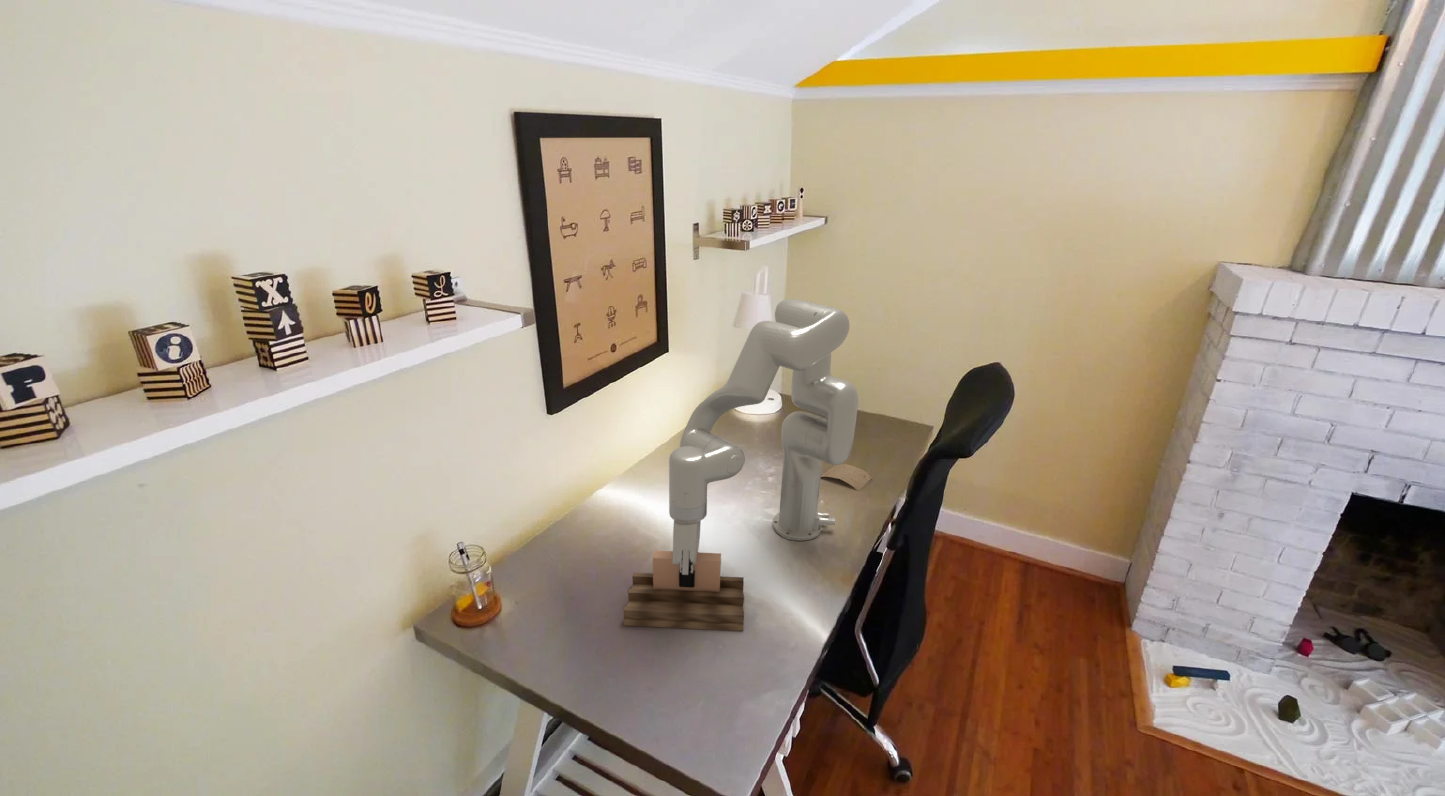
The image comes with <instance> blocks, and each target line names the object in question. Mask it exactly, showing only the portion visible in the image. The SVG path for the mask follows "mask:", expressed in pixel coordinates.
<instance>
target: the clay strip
mask: <svg viewBox="0 0 1445 796" xmlns="http://www.w3.org/2000/svg"><path fill="white" fill-rule="evenodd" d="M721 556H722V553H718V552H700V551H698V555H697V561H696V564H695V565H694V570H695V585H694V587H693V588H689V587H680V586H679V570H680V562H679V564H678V565H673V563H672V560H673V550H672V551H669V550H654V551H653V555H652V573H653V589H655V590H679V591H703V592H720V576H721V572H722V571H721V568H722V566H721V565H722V564H721V563H722V562H721V561H722V557H721ZM689 566H690V567H691V564H689Z"/></svg>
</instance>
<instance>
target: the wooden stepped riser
mask: <svg viewBox="0 0 1445 796" xmlns="http://www.w3.org/2000/svg"><path fill="white" fill-rule="evenodd" d="M631 576H632V585H631V588H628V592H627V594H628V595H627V596H628V597H627V598H628V601H627V604H626V605H624V608H623V626H627V627H629V626H630V627H647V628H648V627H650V628H651V627H652V628H654V627H655V628H670V629H671V628H673V629H694V630H695V629H697V630H719V631H740V632H743V631H744V626H745V625H744V620H745V610H744V604H745V603H744V602H745V600H744V599H745V593H744V582H745V581H744V580H745V579H744V577H743V576H741V577H739V576H721V575H720V592H703V591H679V590H655V589H653V572H652V573H651V572H649V573H647V572H633V573H632V575H631Z"/></svg>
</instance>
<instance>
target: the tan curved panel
mask: <svg viewBox="0 0 1445 796" xmlns="http://www.w3.org/2000/svg"><path fill="white" fill-rule="evenodd" d="M823 477H828V478H834V479H840V480H841V481H844V482H845V483H847V484H848V485H850V486H851V487H853V489H854V490H856V491H860V490H861V489H862V488H863V487H864V486H865V485H866V484H867V483H868V482H869V481H870V480H872V479H873V477H872V476H871V475H870V474H869V473H868V472H867V471H865V470H863V469H862V468H858V467H856V466H854V465H851V464H847V463H842V464H839V465H832V466H831V467H830V468H829V469H827V470H826V471H825V472H824V473H821V478H823Z"/></svg>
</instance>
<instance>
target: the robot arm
mask: <svg viewBox="0 0 1445 796" xmlns="http://www.w3.org/2000/svg"><path fill="white" fill-rule="evenodd" d="M850 324H851V323H850V318H849V317H848V315H847V314H846V312H845V311H843V310H841V309H840V308H837V307H835V306H834V307H833V306H829V305H824V304H818V303H815V302H812V301H808V300H807V301H806V300H803V299H796V298H787V299H783V300H781V301H780V302H778V304H777V305H776V307H775V311H774V321H773V320H762V321H759V322H757V323H756V324H754V326H753V327H752V328H751V330H750V332H749V334H748V336H747V338H746V341H745V342H744V345H743V346H742V349H741V352H740V353H739V355H738V358H737V360H736V362H735V364H734V365H733V366H734V367H733V369H732V370H731V373H730V375H729V377H728V379H727V381H726V383H725V384H724V385H722V386H721V387H720V388H718V389H717V390H715V391H714V392H712V393H711V394H710V395H708V396H707V397H705V399H703V400H702V401H701V402H700V403H699V404H698V405H697V406H696V407H695V409H694V410H693V411H692V413H691V415H690V418H689V419H688V421H687V423H686V426H685V427H684V430H683V432H682V435H681V438H680V442H679V447H678V448H675V449H673V451H671V453H670V454H669V458H668V459H669V460H668V489H669V490H668V493H669V494H668V500H669V503H668V506H669V507H668V509H669V510H668V511H669V512H668V513H669V517H670V519H672V520H673V530H672V532H673V533H672V551H673V560H672V563H673V565H678V564H679V562H680V570H679V586H680V587H689V588H693V587H694V585H695V570H694V565H695V564H696V561H697V555H698V552H699V547H700V538H701V522H702V521H703V520H704V519H705V518H706V517H707V513H708V511H707V509H708V485H709V484H710V483H714V482H717V481H723V480H727V479H731V478H732V477H734V476H736V475H738V474H739V473H740V472H741V470H742V469H743V468H744V465H745V462H746V457H745V453H744V451H743V449H742V448H741V447H740V446H738V445H737V444H736V443H734V442H732V441H729V440H727V439H724V438H723V437H720V436H719V435H716V434H714V433H712V430H713V428H714V425H715V424H716V423H717V421H718V420H719V419H720V418H721V417H722V416H723V415H724V414H725V413H728V412H730V411H731V410H734V409H737V408H740V407H741V408H742V407H745V406H753V405H758V404H761V403H762V402H764V401H765V400H766V397H767V395H768V392H769V391H770V389H771V386H772V384H773V382H774V379H775V377H776V375H777V373H778V371H779V368H780V367H782V368H786V369H789V370H792V377H791V379H792V380H791V390H790V391H791V392H790V394H791V395H790V397H791V401H792V403H793V404H794V406H796V407H797V408H799V409H801V410H803V411H793V412H791V413H790V414H788V415H787V416H786V417H785V419H784V420H783V422H782V425H781V437H780V438H781V443H782V454H783V456H782V459H783V460H782V475H781V488H780V500H779V512H778V513H776V514H775V515H774V517H773V518H772V529H773V530H774V532H775V533H777V534H778V535H780V536H781V537H782V538H785V539H788V540H792V541H799V542H801V541H810V540H813V539H814V538H815V539H816V538H817V537H818V536H819V535H820V534H821V532H822V528H823V525H824V526H835V525H836V518H835V517H830V516H829V515H830V514H829V513H828V512H827V513H826V512H823V513H822V512H819V511H818V508H819V507H818V506H819V505H818V504H819V497H820V489H821V478H822V477H821V475H822V463H821V462H824V463H826V464H829V465H832V466H834V465H839V464H844V463H845V462H846V461H847V459H848V458H849V456H850V454H851V452H852V449H853V445H854V437H855V429H856V424H857V414H858V408H859V407H858V406H859V394H858V391H857V389H856V387H855V386H854V385H853V383H851V382H850V381H848V380H846V379H843V378H839V377H835V376H833V375H832V373H831V363H832V353H833V352H834V351H836V350H837V349H838V348H840V346H841V345H842V344H843V343H844V341H845V340H846V339H847V337H848V334H849V332H850ZM689 564H691V567H690V566H689Z"/></svg>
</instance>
